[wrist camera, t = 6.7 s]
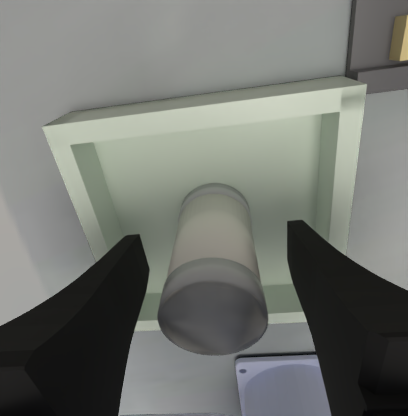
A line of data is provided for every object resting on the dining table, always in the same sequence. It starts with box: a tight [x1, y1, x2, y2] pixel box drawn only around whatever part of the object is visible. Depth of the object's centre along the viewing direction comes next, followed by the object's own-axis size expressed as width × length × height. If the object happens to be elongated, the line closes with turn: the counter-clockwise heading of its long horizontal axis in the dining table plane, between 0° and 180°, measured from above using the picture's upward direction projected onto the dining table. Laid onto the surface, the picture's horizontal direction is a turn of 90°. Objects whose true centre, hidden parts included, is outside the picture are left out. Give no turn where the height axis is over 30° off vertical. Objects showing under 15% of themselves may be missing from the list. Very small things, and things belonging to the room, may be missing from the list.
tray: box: [42, 76, 367, 331], centre depth 15 cm, size 12×12×2 cm
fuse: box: [157, 183, 268, 355], centre depth 12 cm, size 4×4×6 cm
